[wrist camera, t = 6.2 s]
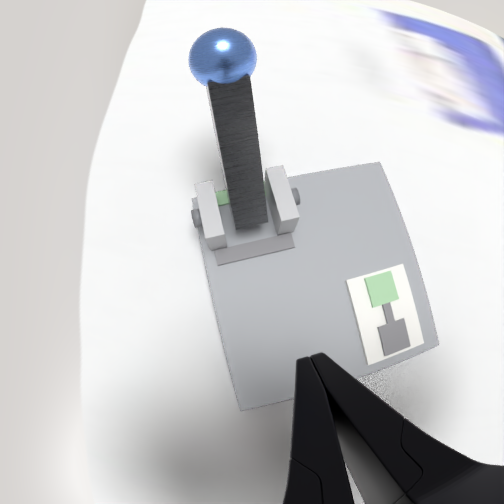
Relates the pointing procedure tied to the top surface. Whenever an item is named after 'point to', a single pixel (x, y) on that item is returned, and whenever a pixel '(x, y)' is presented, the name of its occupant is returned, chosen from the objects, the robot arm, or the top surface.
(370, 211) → the switch panel
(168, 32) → the top surface
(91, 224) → the top surface
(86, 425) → the top surface
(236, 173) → the lever
